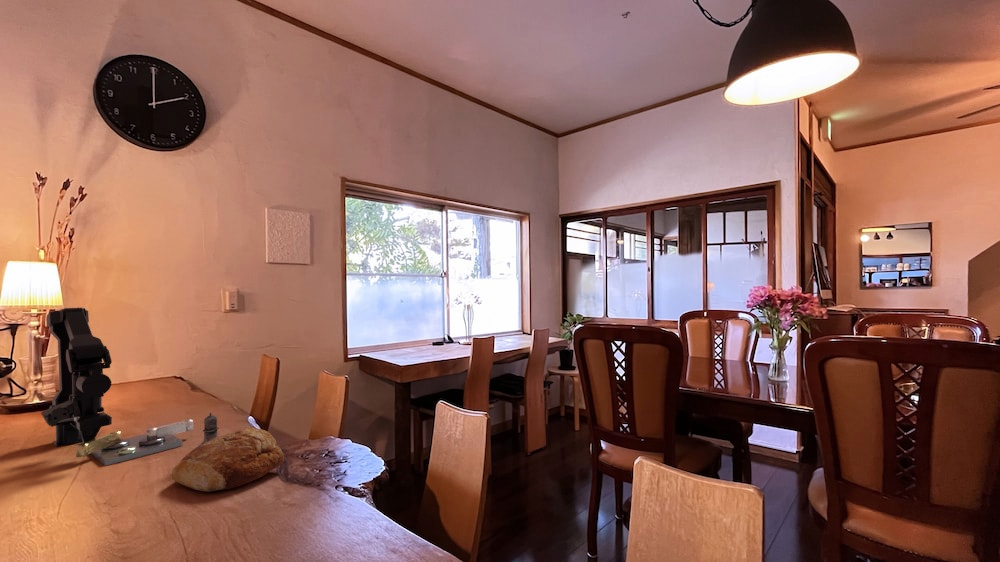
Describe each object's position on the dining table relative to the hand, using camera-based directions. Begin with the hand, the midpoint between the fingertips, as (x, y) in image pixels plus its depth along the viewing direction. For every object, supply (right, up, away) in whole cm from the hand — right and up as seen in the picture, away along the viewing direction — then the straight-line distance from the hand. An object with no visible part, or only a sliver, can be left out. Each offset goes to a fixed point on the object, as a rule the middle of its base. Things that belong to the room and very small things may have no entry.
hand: (87, 447), depth 118 cm
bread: (+44, -3, -11) cm, 46 cm away
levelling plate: (+8, -3, +7) cm, 11 cm away
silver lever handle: (+13, -1, +11) cm, 17 cm away
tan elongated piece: (+3, -2, +2) cm, 3 cm away
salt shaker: (+33, -3, 0) cm, 33 cm away
